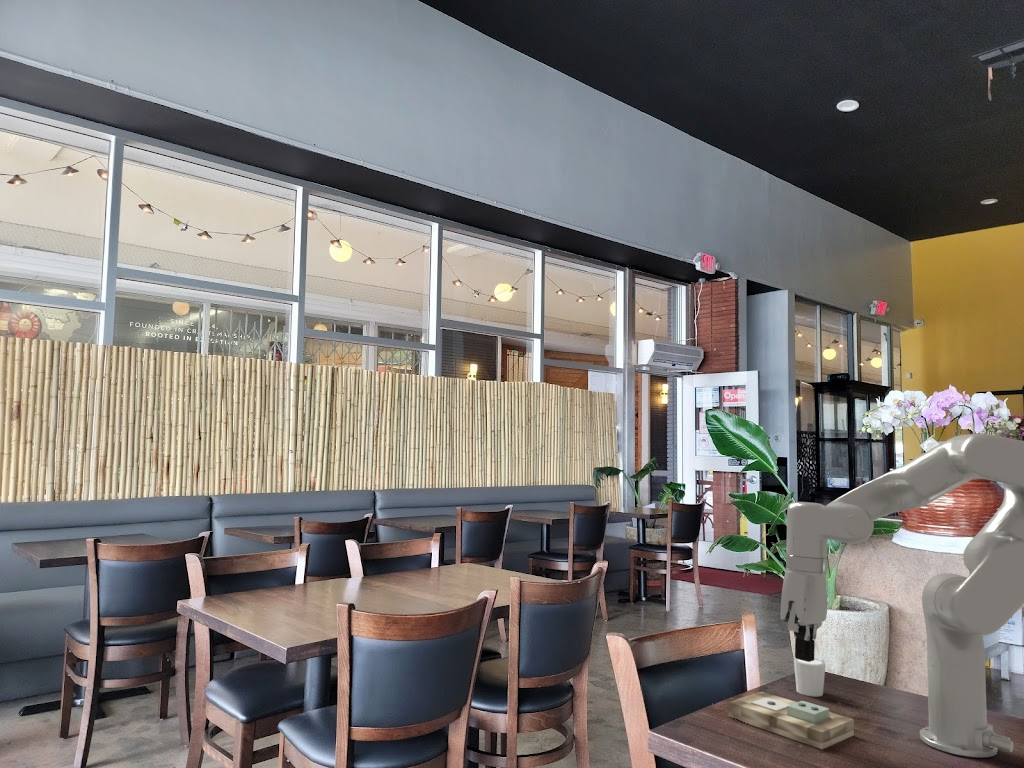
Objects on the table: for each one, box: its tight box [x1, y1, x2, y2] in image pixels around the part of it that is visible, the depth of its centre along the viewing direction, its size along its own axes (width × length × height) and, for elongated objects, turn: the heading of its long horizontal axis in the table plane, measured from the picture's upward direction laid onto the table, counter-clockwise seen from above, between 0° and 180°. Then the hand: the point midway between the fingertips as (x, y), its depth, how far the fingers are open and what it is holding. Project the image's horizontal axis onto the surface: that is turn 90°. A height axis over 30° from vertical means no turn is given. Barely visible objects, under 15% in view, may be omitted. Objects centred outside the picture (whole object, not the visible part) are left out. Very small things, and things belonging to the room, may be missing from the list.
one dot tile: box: [751, 697, 790, 712], centre depth 149 cm, size 6×6×2 cm
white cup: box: [793, 657, 826, 698], centre depth 168 cm, size 7×7×7 cm
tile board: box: [728, 691, 855, 750], centre depth 146 cm, size 20×12×3 cm, turn 39°
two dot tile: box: [787, 700, 830, 724], centre depth 143 cm, size 6×6×2 cm
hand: (804, 659), depth 144 cm, fingers closed
